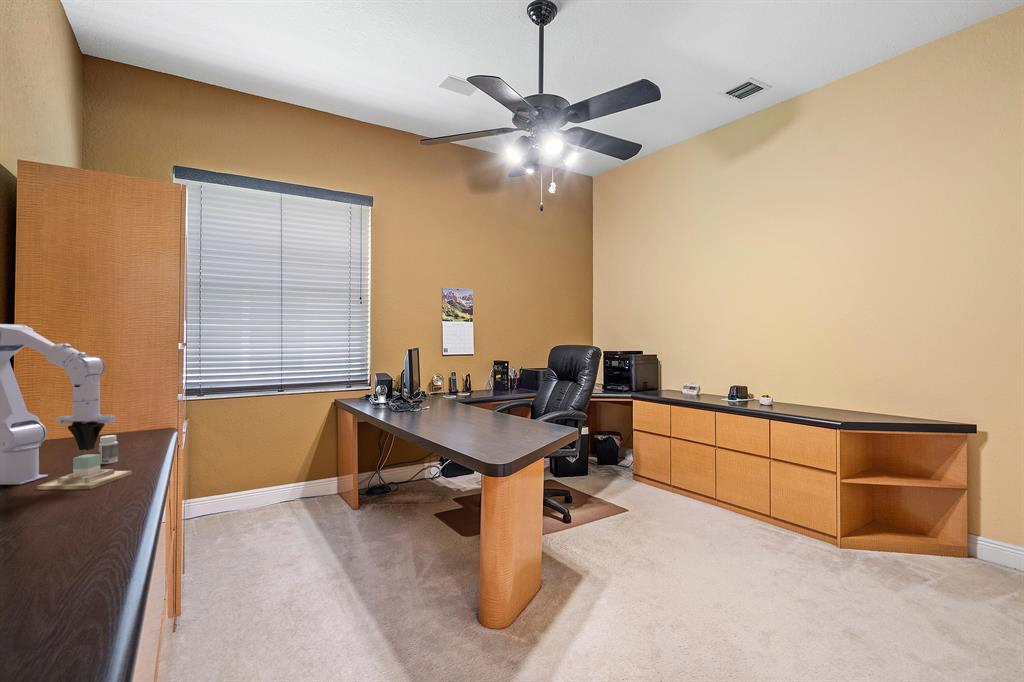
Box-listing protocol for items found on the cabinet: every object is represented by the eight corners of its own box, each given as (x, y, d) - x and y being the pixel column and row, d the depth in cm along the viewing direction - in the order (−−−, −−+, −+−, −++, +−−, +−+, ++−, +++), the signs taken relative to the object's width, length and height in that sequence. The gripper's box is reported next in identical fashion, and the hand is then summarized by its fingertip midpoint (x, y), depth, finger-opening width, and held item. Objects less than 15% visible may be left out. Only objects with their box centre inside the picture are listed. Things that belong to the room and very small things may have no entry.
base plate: (36, 489, 127) (36, 481, 127) (83, 474, 141) (83, 466, 141) (91, 489, 127) (90, 480, 127) (131, 474, 141) (131, 466, 141)
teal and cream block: (73, 479, 132) (73, 458, 132) (85, 475, 136) (85, 454, 136) (88, 479, 132) (88, 457, 132) (100, 475, 136) (100, 454, 136)
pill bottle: (122, 460, 157) (121, 434, 157) (108, 464, 152) (108, 437, 152) (108, 460, 157) (108, 434, 157) (94, 464, 153) (94, 437, 153)
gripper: (46, 402, 130) (46, 452, 130) (100, 402, 130) (101, 452, 130) (69, 399, 137) (70, 447, 137) (121, 398, 137) (121, 446, 137)
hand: (86, 449), depth 134 cm, fingers closed
